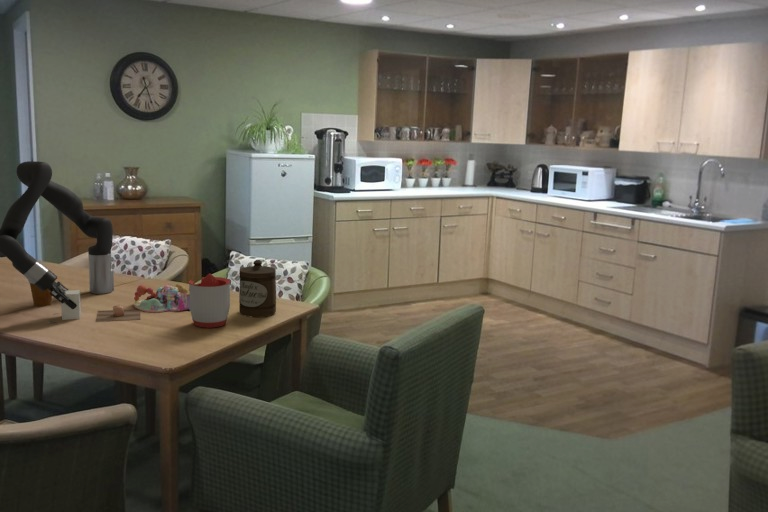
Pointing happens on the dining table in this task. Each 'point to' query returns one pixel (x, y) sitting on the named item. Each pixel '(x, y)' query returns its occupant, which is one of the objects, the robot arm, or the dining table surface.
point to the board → (108, 316)
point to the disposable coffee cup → (40, 296)
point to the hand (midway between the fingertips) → (75, 305)
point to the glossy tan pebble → (118, 310)
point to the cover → (67, 311)
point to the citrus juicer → (209, 301)
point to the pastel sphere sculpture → (163, 299)
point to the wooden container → (257, 290)
